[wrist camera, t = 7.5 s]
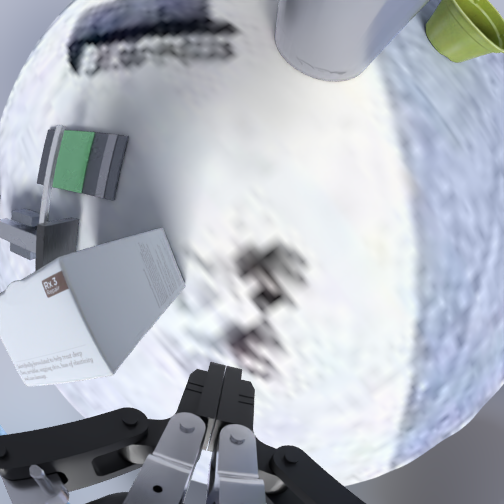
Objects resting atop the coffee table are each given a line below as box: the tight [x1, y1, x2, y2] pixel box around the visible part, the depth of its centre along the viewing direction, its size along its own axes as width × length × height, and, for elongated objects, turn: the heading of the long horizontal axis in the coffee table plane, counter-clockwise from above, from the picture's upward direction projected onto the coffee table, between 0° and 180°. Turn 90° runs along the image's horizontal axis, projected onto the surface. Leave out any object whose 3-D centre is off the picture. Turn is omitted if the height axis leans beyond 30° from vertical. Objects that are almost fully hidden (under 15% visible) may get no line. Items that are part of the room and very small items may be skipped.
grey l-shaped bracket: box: [0, 125, 79, 271], centre depth 20 cm, size 14×12×5 cm
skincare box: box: [0, 227, 186, 386], centre depth 17 cm, size 8×6×15 cm
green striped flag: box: [0, 130, 129, 260], centre depth 21 cm, size 14×22×4 cm
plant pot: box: [426, 0, 504, 63], centre depth 14 cm, size 9×9×9 cm
